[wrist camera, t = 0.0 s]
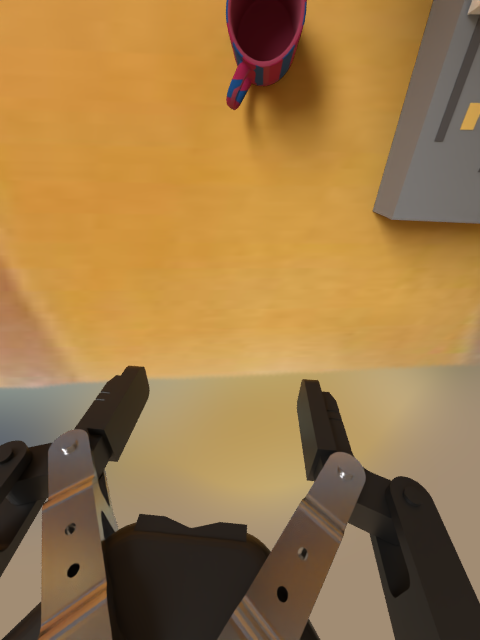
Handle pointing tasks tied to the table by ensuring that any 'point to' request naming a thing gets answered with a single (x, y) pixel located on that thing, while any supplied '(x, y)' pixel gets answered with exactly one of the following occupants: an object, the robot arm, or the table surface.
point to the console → (438, 126)
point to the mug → (262, 41)
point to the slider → (474, 7)
